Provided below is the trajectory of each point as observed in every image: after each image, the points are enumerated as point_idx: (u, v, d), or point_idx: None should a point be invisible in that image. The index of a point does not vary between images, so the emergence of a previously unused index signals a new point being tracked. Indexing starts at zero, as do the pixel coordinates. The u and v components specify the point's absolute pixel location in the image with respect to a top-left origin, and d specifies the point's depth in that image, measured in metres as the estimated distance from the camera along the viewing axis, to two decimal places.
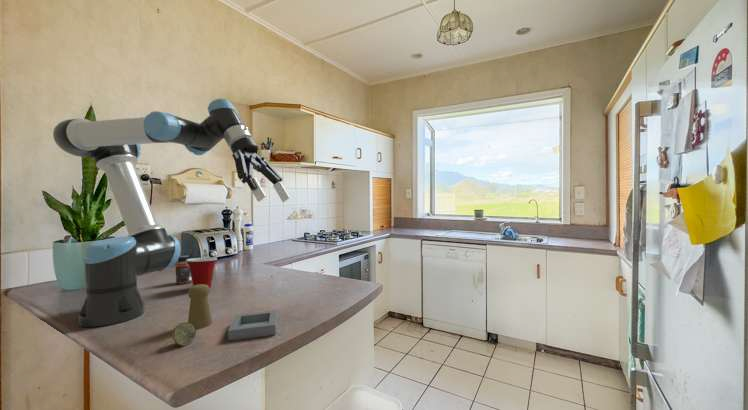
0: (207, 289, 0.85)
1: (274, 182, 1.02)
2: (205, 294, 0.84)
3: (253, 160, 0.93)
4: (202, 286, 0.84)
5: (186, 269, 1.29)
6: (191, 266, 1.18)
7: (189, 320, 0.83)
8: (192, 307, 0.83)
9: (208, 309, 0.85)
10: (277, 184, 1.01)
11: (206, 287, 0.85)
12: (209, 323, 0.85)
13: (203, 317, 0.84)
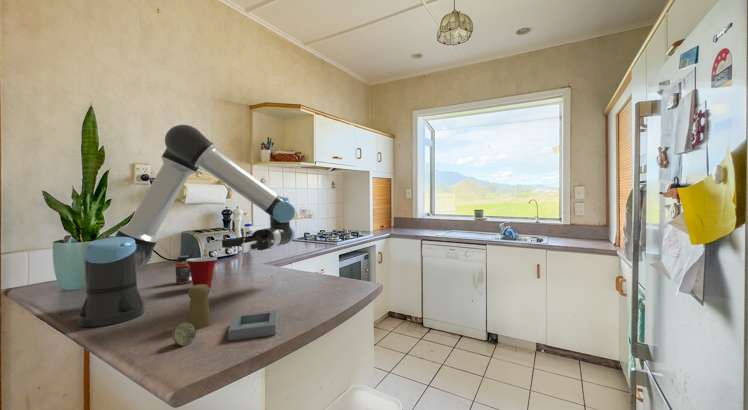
0: (207, 289, 0.85)
1: (222, 242, 1.03)
2: (205, 294, 0.84)
3: None
4: (202, 286, 0.84)
5: (186, 269, 1.29)
6: (191, 266, 1.18)
7: (189, 320, 0.83)
8: (192, 307, 0.83)
9: (208, 309, 0.85)
10: (220, 245, 1.02)
11: (206, 287, 0.85)
12: (209, 323, 0.85)
13: (203, 317, 0.84)
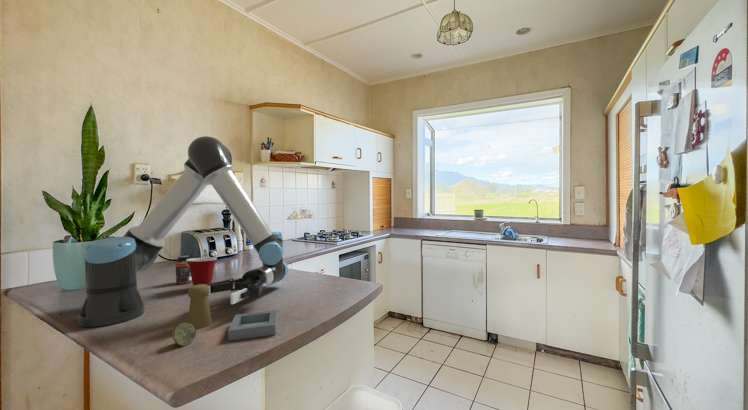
0: (207, 289, 0.85)
1: (210, 287, 0.97)
2: (205, 294, 0.84)
3: None
4: (202, 286, 0.84)
5: (186, 269, 1.29)
6: (191, 266, 1.18)
7: (189, 320, 0.83)
8: (192, 307, 0.83)
9: (208, 309, 0.85)
10: None
11: (206, 287, 0.85)
12: (209, 323, 0.85)
13: (203, 317, 0.84)
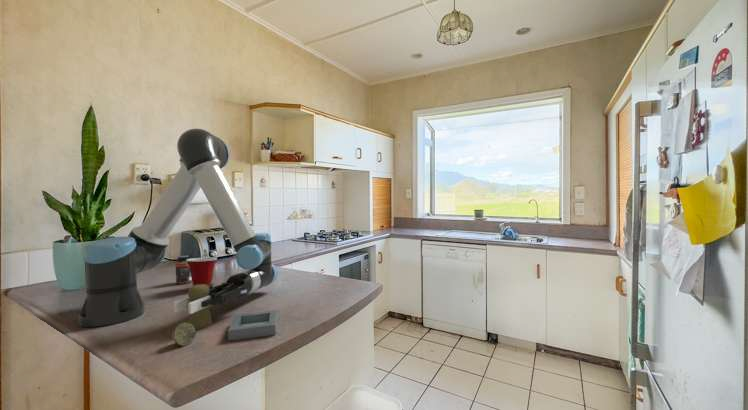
0: (207, 289, 0.85)
1: None
2: (205, 294, 0.84)
3: None
4: (202, 286, 0.84)
5: (186, 269, 1.29)
6: (191, 266, 1.18)
7: (189, 320, 0.83)
8: None
9: (208, 309, 0.85)
10: None
11: (206, 287, 0.85)
12: (209, 323, 0.85)
13: (203, 317, 0.84)
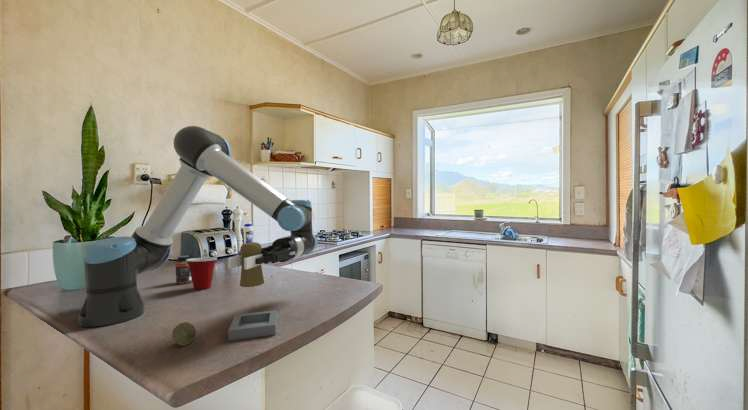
0: (259, 247, 0.82)
1: None
2: (258, 251, 0.81)
3: None
4: (255, 243, 0.81)
5: (186, 269, 1.29)
6: (191, 266, 1.18)
7: (242, 278, 0.80)
8: None
9: (260, 268, 0.82)
10: None
11: (258, 244, 0.82)
12: (262, 282, 0.81)
13: (257, 275, 0.80)
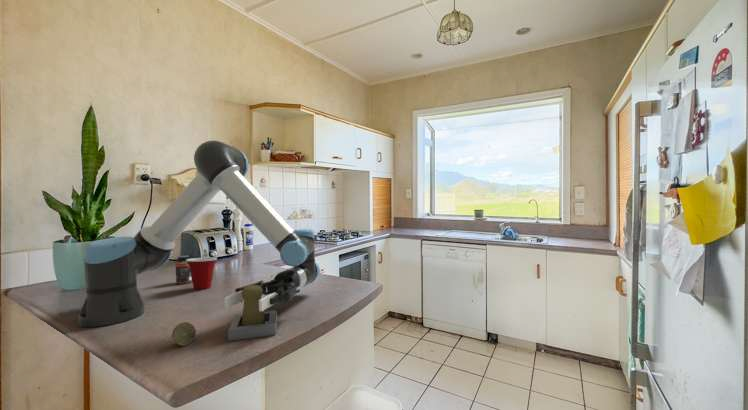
0: (261, 290, 0.82)
1: None
2: (259, 295, 0.81)
3: None
4: (256, 287, 0.81)
5: (186, 269, 1.29)
6: (191, 266, 1.18)
7: (243, 322, 0.80)
8: (246, 308, 0.80)
9: (262, 311, 0.82)
10: (242, 297, 0.84)
11: (260, 288, 0.82)
12: None
13: (258, 319, 0.80)
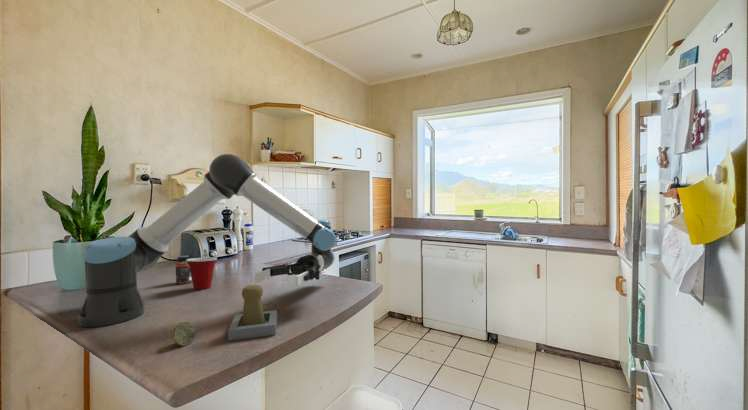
0: (261, 290, 0.82)
1: (269, 270, 1.00)
2: (259, 295, 0.81)
3: None
4: (256, 287, 0.81)
5: (186, 269, 1.29)
6: (191, 266, 1.18)
7: (243, 322, 0.80)
8: (246, 308, 0.80)
9: (262, 311, 0.82)
10: (269, 274, 0.98)
11: (260, 288, 0.82)
12: None
13: (258, 319, 0.80)
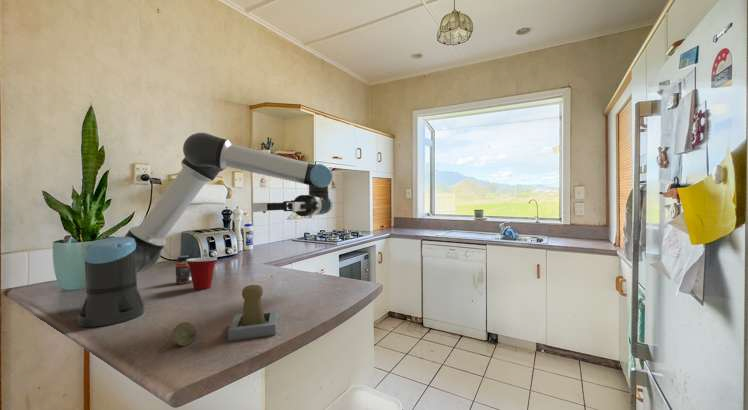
0: (261, 290, 0.82)
1: (266, 204, 0.99)
2: (259, 295, 0.81)
3: None
4: (256, 287, 0.81)
5: (186, 269, 1.29)
6: (191, 266, 1.18)
7: (243, 322, 0.80)
8: (246, 308, 0.80)
9: (262, 311, 0.82)
10: (265, 207, 0.98)
11: (260, 288, 0.82)
12: None
13: (258, 319, 0.80)
